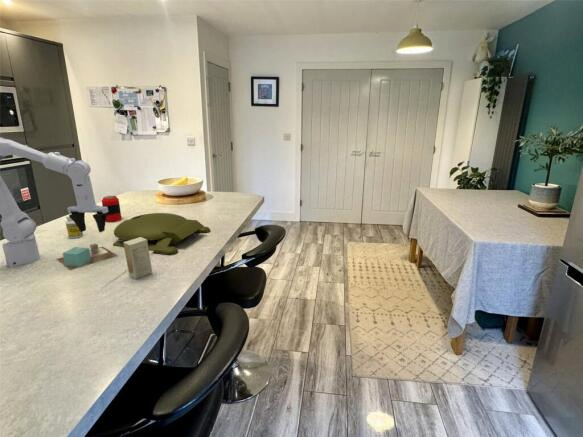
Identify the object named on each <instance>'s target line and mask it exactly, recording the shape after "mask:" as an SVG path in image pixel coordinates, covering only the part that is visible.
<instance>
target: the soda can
mask: <svg viewBox="0 0 583 437" xmlns="http://www.w3.org/2000/svg"><path fill="white" fill-rule="evenodd" d="M119 200H120V199H119V198H118V196H116V195H106V196H104V197H103V198H102V199H101V206H103V207H107V208H108V215H107V218H106V221H105V223H116V222H120V221H122V213H121V212H122V211H121V205H120V201H119Z"/></svg>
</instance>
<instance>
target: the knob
mask: <svg viewBox="0 0 583 437" xmlns="http://www.w3.org/2000/svg"><path fill="white" fill-rule="evenodd" d="M90 250H91V249H90V247H79V246H75V247H73V248H70V249H68V250H66V251H64V252H62V257H64V261H65V266H73V267H79V268H82V267H81V266H82V265H84V264H86V263H88V262H90V261H91V255H90ZM65 266H64V267H65Z"/></svg>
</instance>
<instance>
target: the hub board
mask: <svg viewBox="0 0 583 437" xmlns="http://www.w3.org/2000/svg"><path fill="white" fill-rule="evenodd" d="M89 250H90V255H91V261H90V262H88V263H86V264H84V265H82V266H81V267H73V266H65V261H64V257H63V256H62V257H60V258H56V260H57V261H58V262H59V263H61V265H63V266H64V267H65V268H67V269H68V270H69V271H72V270H73V271H74V270H75V269H79V268H83V267H85V266H89V265H92V264H95V263H100V262H102V261H107V260H110V259H112V258H116V257H119V255H118V254H116V253H114V252H113V251H111V250H109V248H107V247H104V246H98V244H97V243H91V244H89Z"/></svg>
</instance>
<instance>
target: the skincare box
mask: <svg viewBox="0 0 583 437" xmlns="http://www.w3.org/2000/svg"><path fill="white" fill-rule="evenodd" d="M125 241H126V242H123V243H124V247H123V248H124V253H125V254H124V255H125V259H126V260H125V261H126V264H127V271H128V276H129V277H131V278H133V279H134V280H137V279H140V278H142V277H144V276H147V275H149V274H152V273H153V269H152V263H151V257H150V256H151V255H150V251H149V249H148V244H149V242H148V240H147V239H144V238H142V237H139V238H136V239H132V240H125Z"/></svg>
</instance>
